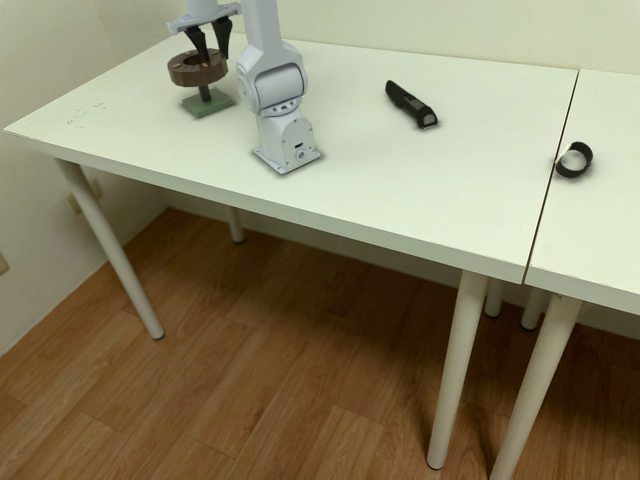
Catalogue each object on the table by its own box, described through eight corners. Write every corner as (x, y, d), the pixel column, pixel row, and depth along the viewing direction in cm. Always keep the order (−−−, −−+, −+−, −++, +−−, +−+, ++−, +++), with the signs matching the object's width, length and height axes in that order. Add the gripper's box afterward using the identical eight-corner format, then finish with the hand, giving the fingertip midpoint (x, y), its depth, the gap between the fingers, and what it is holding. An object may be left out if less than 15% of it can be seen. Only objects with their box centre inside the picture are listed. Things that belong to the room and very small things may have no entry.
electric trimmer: (397, 91, 94) (397, 76, 91) (439, 124, 83) (440, 108, 80) (380, 96, 93) (380, 81, 91) (420, 130, 82) (421, 114, 80)
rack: (233, 104, 96) (226, 72, 91) (198, 118, 93) (188, 86, 89) (217, 91, 101) (209, 61, 97) (183, 104, 98) (173, 73, 94)
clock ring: (238, 73, 91) (234, 57, 89) (185, 92, 87) (180, 76, 85) (213, 58, 98) (209, 42, 96) (163, 75, 94) (158, 59, 92)
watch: (564, 150, 73) (570, 130, 71) (596, 159, 71) (604, 138, 69) (545, 175, 69) (551, 154, 67) (579, 185, 67) (586, 164, 65)
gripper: (223, -27, 89) (239, 45, 98) (152, -7, 84) (175, 67, 93) (241, -21, 85) (255, 54, 94) (166, 0, 79) (189, 77, 89)
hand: (216, 61), depth 93 cm, fingers closed on clock ring, 3 cm apart
